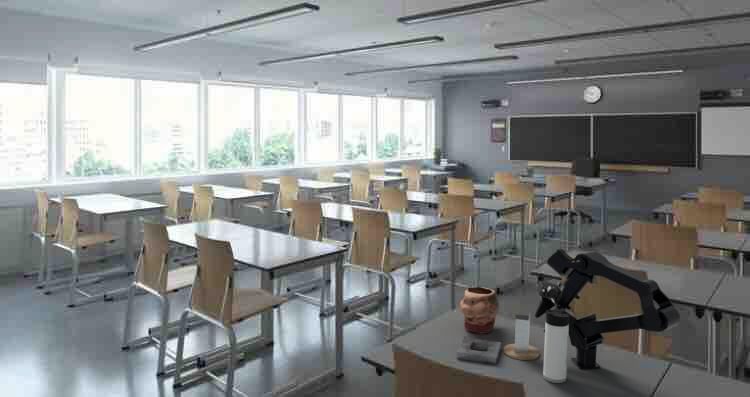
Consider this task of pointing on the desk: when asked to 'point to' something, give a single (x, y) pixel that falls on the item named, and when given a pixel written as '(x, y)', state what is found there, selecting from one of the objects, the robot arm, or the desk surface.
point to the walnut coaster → (532, 353)
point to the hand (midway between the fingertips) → (540, 324)
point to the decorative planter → (479, 309)
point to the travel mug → (556, 346)
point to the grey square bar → (522, 331)
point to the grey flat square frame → (487, 357)
